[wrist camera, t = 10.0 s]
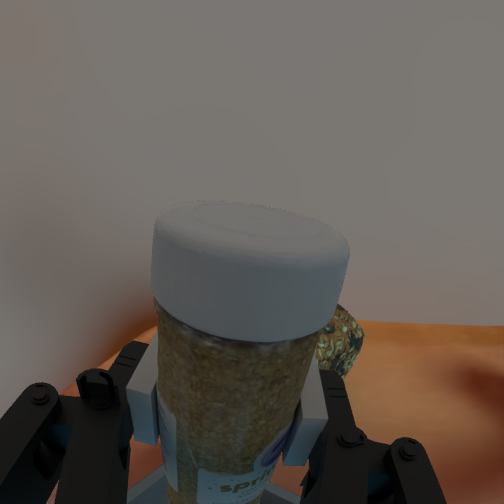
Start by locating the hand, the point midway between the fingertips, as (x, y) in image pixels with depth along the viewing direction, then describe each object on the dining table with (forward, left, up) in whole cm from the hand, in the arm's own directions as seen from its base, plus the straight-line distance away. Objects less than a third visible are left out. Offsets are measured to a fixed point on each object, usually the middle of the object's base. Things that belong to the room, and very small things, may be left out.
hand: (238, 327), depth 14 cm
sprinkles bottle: (+5, +3, -7) cm, 9 cm away
